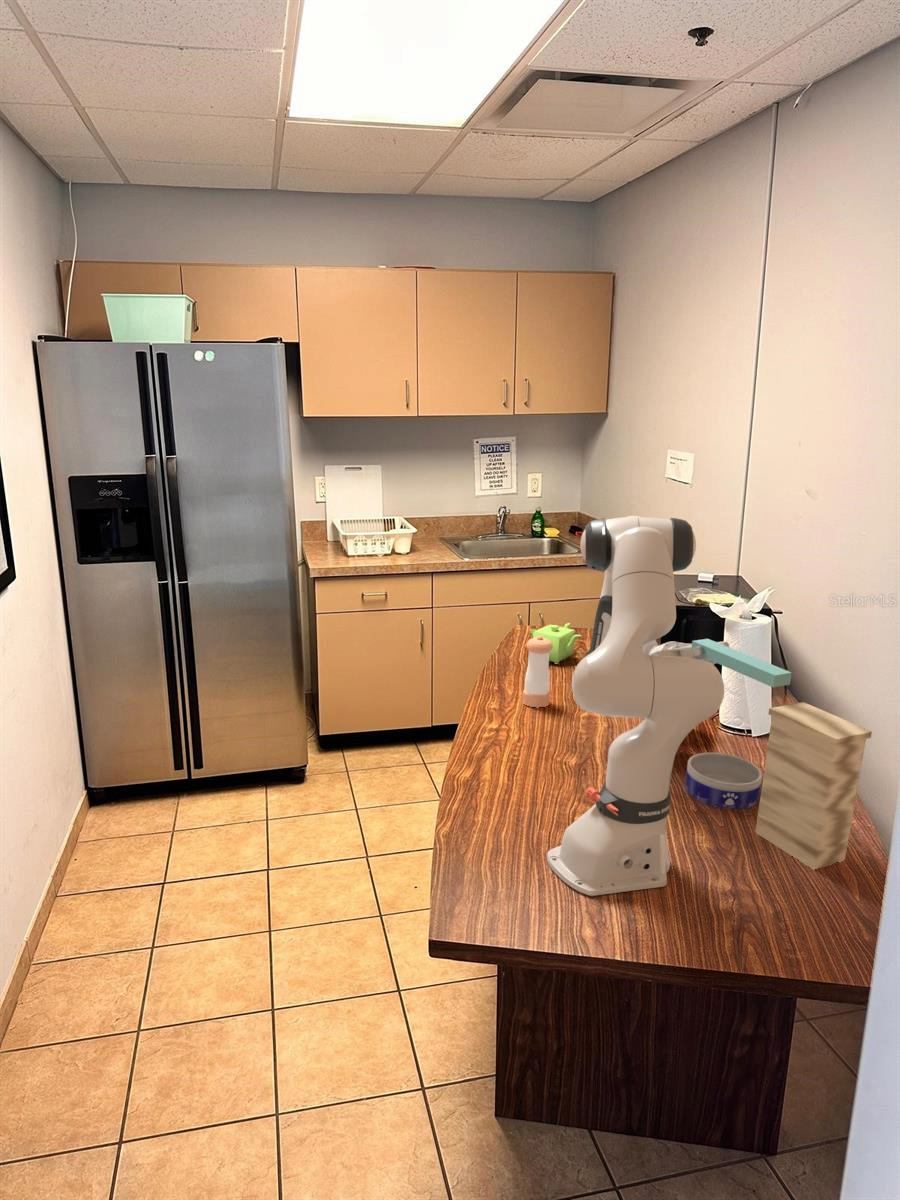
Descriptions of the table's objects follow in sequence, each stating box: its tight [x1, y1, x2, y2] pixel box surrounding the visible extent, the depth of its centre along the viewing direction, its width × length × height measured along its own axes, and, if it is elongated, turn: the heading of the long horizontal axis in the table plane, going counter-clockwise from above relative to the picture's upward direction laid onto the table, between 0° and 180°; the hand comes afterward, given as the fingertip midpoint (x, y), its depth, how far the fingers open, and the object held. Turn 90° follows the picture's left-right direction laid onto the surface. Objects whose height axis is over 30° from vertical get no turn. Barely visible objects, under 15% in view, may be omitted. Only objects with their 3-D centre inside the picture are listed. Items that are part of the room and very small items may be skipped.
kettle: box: [529, 622, 583, 664], centre depth 258 cm, size 15×14×11 cm
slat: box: [691, 638, 792, 688], centre depth 169 cm, size 4×23×2 cm, turn 26°
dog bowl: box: [685, 751, 763, 810], centre depth 176 cm, size 15×15×6 cm
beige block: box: [754, 701, 873, 871], centre depth 153 cm, size 9×15×26 cm, turn 26°
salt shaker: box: [522, 636, 553, 708], centre depth 220 cm, size 7×7×19 cm
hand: (712, 648), depth 175 cm, fingers closed on slat, 4 cm apart
